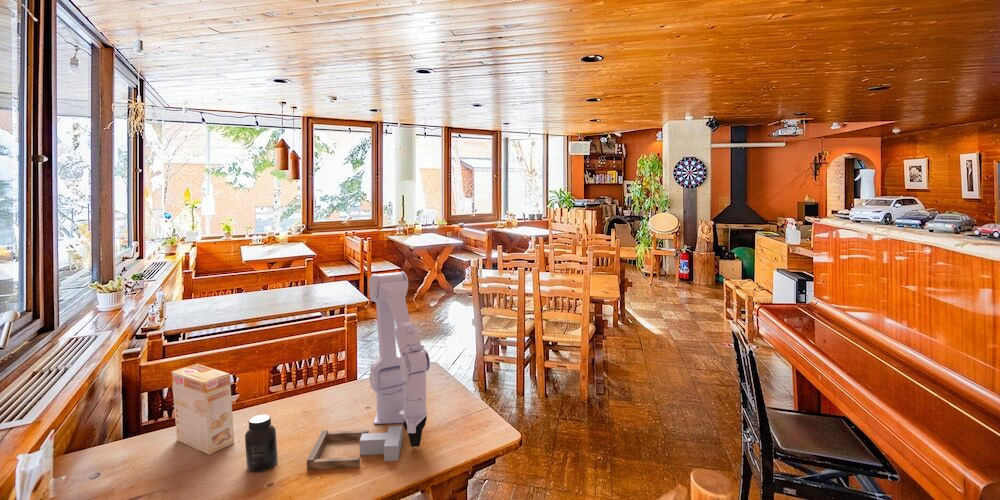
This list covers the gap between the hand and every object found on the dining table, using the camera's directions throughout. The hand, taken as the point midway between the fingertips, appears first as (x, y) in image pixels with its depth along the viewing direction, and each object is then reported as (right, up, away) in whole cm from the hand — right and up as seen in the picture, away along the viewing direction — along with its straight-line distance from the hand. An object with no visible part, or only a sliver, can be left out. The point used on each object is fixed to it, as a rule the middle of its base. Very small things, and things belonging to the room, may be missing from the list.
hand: (415, 445), depth 125 cm
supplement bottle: (-36, -2, -8) cm, 37 cm away
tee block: (-9, -1, -1) cm, 9 cm away
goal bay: (-20, -1, -2) cm, 20 cm away
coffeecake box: (-57, 0, +2) cm, 57 cm away
